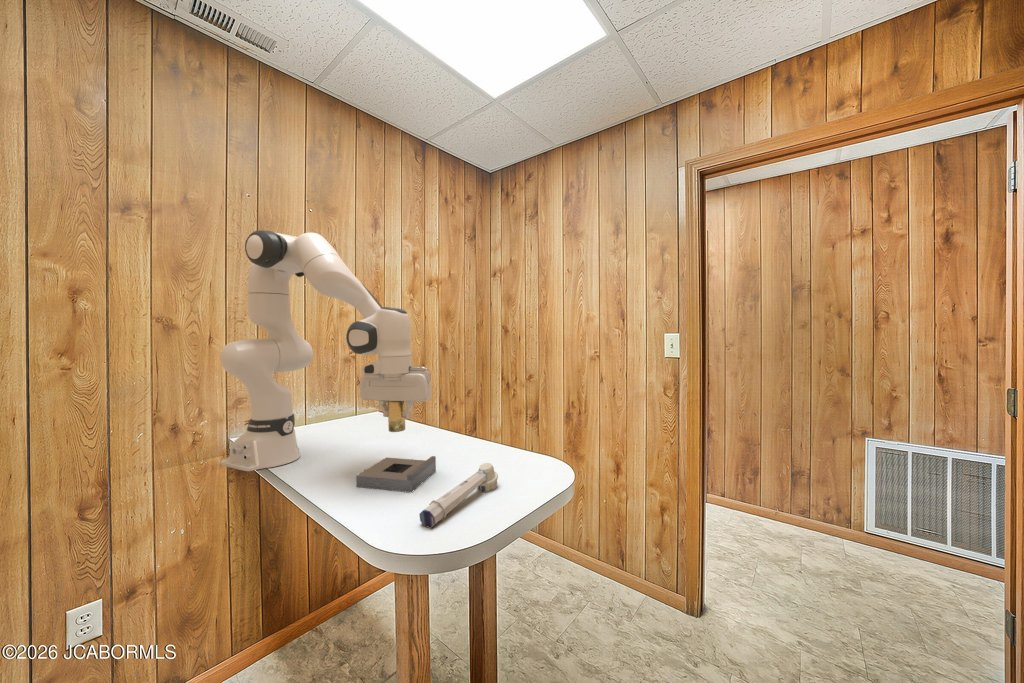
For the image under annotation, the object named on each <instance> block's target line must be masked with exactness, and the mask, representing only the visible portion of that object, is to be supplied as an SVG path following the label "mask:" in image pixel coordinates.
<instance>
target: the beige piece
mask: <svg viewBox="0 0 1024 683" xmlns="http://www.w3.org/2000/svg"><path fill="white" fill-rule="evenodd" d="M498 478H499V473H497V471H495V469H494V466H493V464H492V463H490V462H485V463H482V464H481V465H479V468H478V471H476V472H475V473H473V474H472V475H470V476H469V477H467V478H466V479H465V480H463V481H461V482H460V483H459V484H458V485H456V486H455V487H453V488H452V489H450V490H449V491H447V492H446V493H445V494H443V495H441V496H440V497H439V498H437V499H433V500H432V501H431V502H430V503H429V504H428V506H426V507H425V508H424V509H423V510H422V511H420V513H419V514H418V515H419V521H420V522H421V524H422V526H424V525H425V527H427V526H428V527H427V528H430V529H431V528H433V527H434V526H435V525H436V524H437V523H439V521H443V520H444V519H445V518H446V517H447V515H448V514H449V513H450V512H451V511H453V509H455V508H456V507H457V506H458V505H459V504H460V503H462V501H464V500H465V499H466V498H467V497H468V496H469V495H470V494H472V493H473V492H475V490H476V489H478V490H479V492H483V491H486V492H490V491H494V490H495V489H497V487H498ZM432 526H433V527H432Z"/></svg>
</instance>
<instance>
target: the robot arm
mask: <svg viewBox="0 0 1024 683" xmlns="http://www.w3.org/2000/svg"><path fill="white" fill-rule="evenodd" d="M244 243H245V244H244V249H245V250H244V251H245V254H246V257H247V259H248V260H249V261H250V262H251V264H250V266H249V271H248V275H247V287H246V288H247V292H246V293H247V294H246V295H247V317H248V319H249V320H250V321H251V322H252V324H254V325H256V326H258V327H260V328H263V330H265V331H266V333H267V337H268V338H247V339H241V340H235V341H232V342H228V343H227V344H226V345H225V346H224V347H222V348H223V349H222V350H221V352H220V355H219V356H220V357H219V359H220V360H219V361H220V364H221V367H222V368H223V369H224V370H225V371H226V372H227V373H228V374H229V375H231V376H233V377H235V378H236V379H238V380H239V381H240V382H241V383H242V384H243V385H244V387H245V389H246V391H247V393H248V396H249V397H248V398H249V402H250V413H251V414H250V415H251V418H250V419H248V420H245V421H244V424H243V425H244V426H247V427H246V428H247V429H246V431H245V432H244V433H242V434H241V435H240V436H239V437H238V438H237V439H235V440H234V441H233V442H231V444H230V447H229V456H228V457H226V458H223V459H222V460H221V461H219V465H220V466H223V467H227V468H231V469H236V470H240V471H244V472H251V471H256V470H262V469H268V468H269V469H270V468H274V467H279V466H283V465H287V464H289V463H291V462H295V461H296V460H298V459H299V458H300V457H301V453H300V449H299V447H298V443H297V434H296V431H295V430H296V429H295V426H296V425H295V424H296V423H295V422H296V421H295V420H296V417H295V414H294V412H293V409H294V408H293V392H292V391H291V389H290V388H289V387H287V386H285V385H283V384H281V383H278V382H277V381H275V378H274V373H284V372H286V373H287V372H295V371H298V370H301V369H304V368H307V367H308V366H309V365H310V364H311V363H312V361H313V358H314V350H313V347H312V345H311V343H309V341H308V340H306V339H304V338H303V337H302V336H301V335H300V334H299V332H298V331H297V330H296V327H295V326H294V324H293V321H292V320H293V319H292V314H291V304H290V303H291V302H290V301H291V300H290V279H291V278H292V276H294V275H295V276H296V277H297V278H301V277H304V276H305V278H306V279H307V281H308V283H309V284H310V285H311V286H312V287H313V288H314V289H315V290H316V292H318V293H320V294H321V295H324V296H327V297H330V298H333V299H336V300H339V301H341V302H344V303H347V304H349V305H351V306H353V307H354V308H355V309H356V310H357V311H358V312H359V313H360V314H361V315H362V317H363V318H364V319H361V320H357V321H354V322H352V323H351V324H350V325H349V327H348V328H347V331H346V337H345V338H346V339H345V340H346V344H347V346H348V347H349V350H351V352H353V353H355V354H357V355H363V356H365V355H366V356H367V355H377V360H376V361H374V362H371V363H368V364H365V365H362V366H361V367H360V369H361V370H360V372H361V374H362V376H361V378H360V382H359V385H360V386H359V392H360V393H359V394H360V397H361V399H362V400H363V401H378V405H379V407H380V408H381V410H382V413H383V414H382V417H385V418H388V401H405V406H406V408H405V410H404V411H402V414H403V415H402V417H403V418H405V419H409V418H410V417H411V410H412V408H413V407H414V404H415V402H417V403H419V402H422V403H424V402H425V403H426V402H428V401H430V400H431V399H432V397H433V388H432V383H431V378H432V375H431V374H432V372H431V370H429V369H428V368H426V366H413V357H412V350H411V343H412V342H411V341H412V328H411V320H410V316H409V313H408V311H406V310H404V309H401V308H397V307H389V306H382V304H381V303H379V301H378V300H377V298H375V296H374V295H373V294H372V292H371V291H370V290H369V288H367V287H366V286H365V284H363V283H362V281H361V280H360V279H358V278H357V277H356V276H355V274H354V273H353V272H352V271H351V270H350V268H349V267H348V266H347V264H345V262H344V261H343V260H342V258H341V257H340V255H339V253H338V252H337V250H336V249H335V248H334V246H332V244H331V243H329V241H328V240H326V238H324V236H322V235H321V234H320V233H317V232H305V233H302V234H300V235H298V236H295V235H292V234H285V233H280V232H274V231H271V230H266V229H265V230H259V229H258V230H255V231H253V232H251V233H250V234H249V235H248V236H247V238H246V240H245V242H244Z"/></svg>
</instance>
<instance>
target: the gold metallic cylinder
mask: <svg viewBox="0 0 1024 683" xmlns="http://www.w3.org/2000/svg"><path fill="white" fill-rule="evenodd" d="M405 406H406V405H405V401H388V403H387V407H388V417H387V420H388V421H387V423H388V424H387V425H388V432H390V433H399V432H404V431H405V430H406V418H403V417H402V415H403V414H402V411H404V410H406V408H405Z"/></svg>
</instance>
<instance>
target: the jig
mask: <svg viewBox="0 0 1024 683" xmlns="http://www.w3.org/2000/svg"><path fill="white" fill-rule="evenodd" d="M436 457H437V456H435V455H434V456H433V455H432V456H430V457H429V458H427V459H412V458H411V459H410V458H398V457H385V458H383V459H381V460H380V461H379V462H377V463H375V464H374V465H372V466H370V467H368V468H366V469H364V470H363V471H362V472H360V473H358V474H356V475H355V483H356V486H355V487H356V488H363V489H364V488H365V489H372V488H373V490H374V489H375V490H382V489H383V491H384V490H385V491H392V490H393V492H402V491H404V492H403V493H413V492H414V491H415V490H416V489H418V488H419V487H420V486H421V485H422V484H423V483H425V482H426V481H427V480H428V479H429V478H430V477H431V476H432V475H434V474H435V473H436V472H437V462H436V460H437V458H436ZM435 471H436V472H435ZM434 472H435V473H434ZM433 473H434V474H433ZM429 476H430V477H429ZM428 477H429V478H428ZM427 478H428V479H427ZM426 479H427V480H426ZM425 480H426V481H425ZM422 482H423V483H422ZM421 483H422V484H421ZM420 484H421V485H420ZM419 485H420V486H419ZM418 486H419V487H418ZM413 490H414V491H413ZM405 491H406V492H405ZM412 491H413V492H412Z"/></svg>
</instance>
